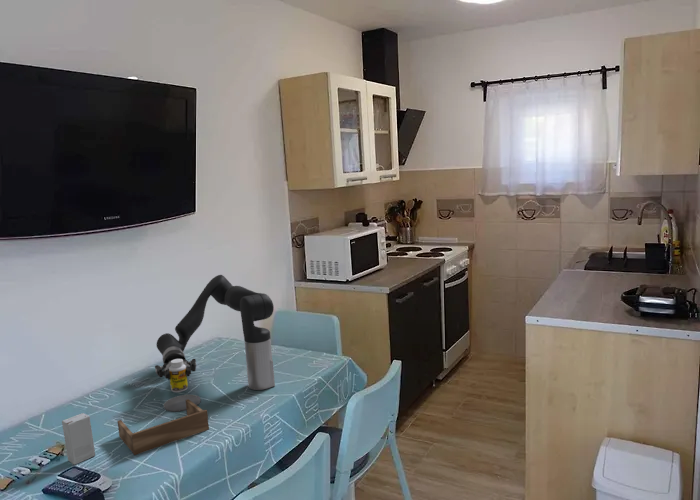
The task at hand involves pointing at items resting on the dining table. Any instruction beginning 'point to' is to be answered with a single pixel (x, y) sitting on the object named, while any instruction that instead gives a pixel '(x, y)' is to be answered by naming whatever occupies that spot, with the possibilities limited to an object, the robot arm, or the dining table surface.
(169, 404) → the slate pad
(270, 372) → the robot arm
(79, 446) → the skincare box
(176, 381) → the supplement bottle
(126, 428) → the brown wooden u-shaped piece
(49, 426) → the dining table surface
